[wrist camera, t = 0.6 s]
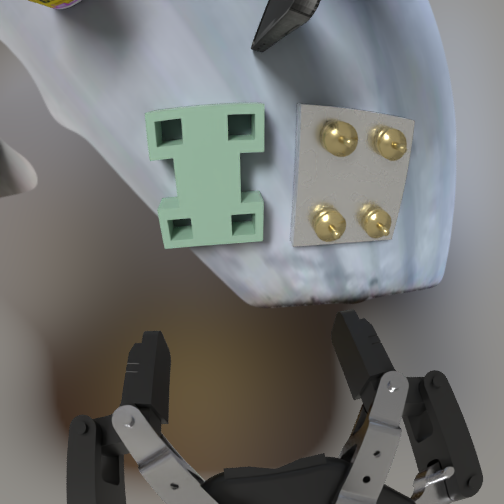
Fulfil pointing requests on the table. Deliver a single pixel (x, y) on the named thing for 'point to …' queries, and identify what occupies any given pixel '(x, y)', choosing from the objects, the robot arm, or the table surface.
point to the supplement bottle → (57, 3)
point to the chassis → (348, 174)
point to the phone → (282, 20)
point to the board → (208, 174)
